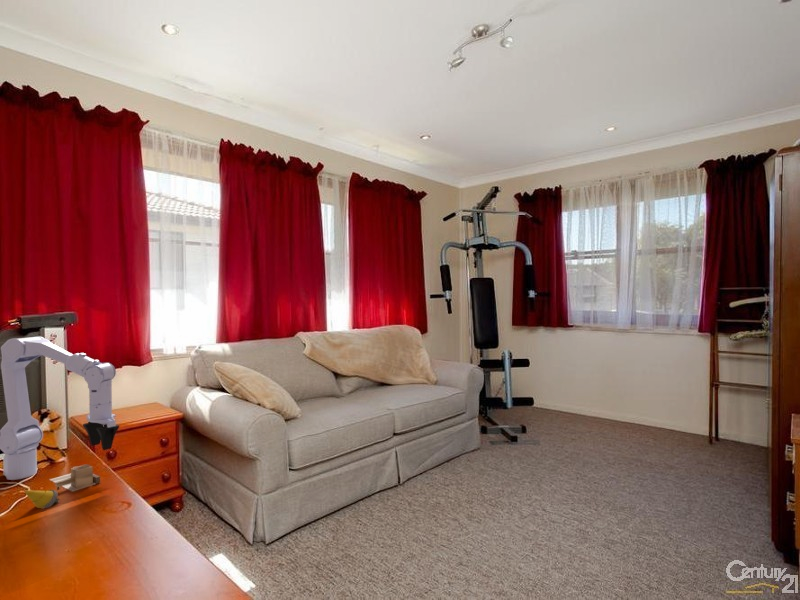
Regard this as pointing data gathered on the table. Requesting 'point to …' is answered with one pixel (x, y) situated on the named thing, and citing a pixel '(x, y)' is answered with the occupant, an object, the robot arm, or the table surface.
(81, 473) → the block
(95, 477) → the board
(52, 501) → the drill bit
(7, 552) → the table surface
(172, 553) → the table surface
